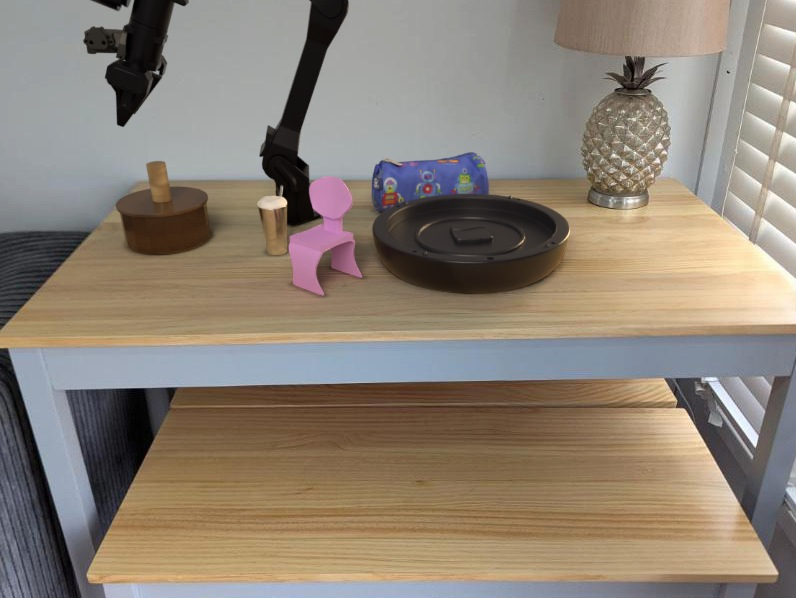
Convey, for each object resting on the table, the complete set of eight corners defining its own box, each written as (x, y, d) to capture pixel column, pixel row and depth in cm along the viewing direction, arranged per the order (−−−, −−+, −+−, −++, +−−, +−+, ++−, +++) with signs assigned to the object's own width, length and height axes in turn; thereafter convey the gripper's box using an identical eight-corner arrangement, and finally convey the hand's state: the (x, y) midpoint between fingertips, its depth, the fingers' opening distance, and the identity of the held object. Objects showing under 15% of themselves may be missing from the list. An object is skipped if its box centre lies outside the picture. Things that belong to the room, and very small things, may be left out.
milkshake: (299, 247, 126) (294, 187, 121) (281, 258, 122) (275, 197, 117) (276, 243, 128) (269, 183, 123) (257, 254, 124) (250, 193, 119)
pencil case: (375, 220, 137) (373, 166, 132) (366, 205, 144) (363, 153, 139) (493, 208, 141) (495, 156, 136) (478, 194, 149) (480, 144, 144)
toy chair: (285, 284, 114) (275, 183, 106) (328, 265, 119) (321, 169, 112) (325, 299, 109) (317, 195, 101) (367, 279, 115) (363, 179, 107)
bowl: (216, 224, 136) (210, 188, 133) (203, 253, 125) (197, 215, 121) (137, 227, 136) (130, 191, 133) (117, 256, 124) (109, 218, 121)
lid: (214, 191, 134) (208, 150, 130) (201, 219, 121) (194, 175, 118) (129, 194, 133) (120, 152, 130) (106, 223, 121) (96, 178, 117)
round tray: (363, 231, 132) (387, 307, 106) (362, 197, 129) (386, 266, 103) (533, 219, 136) (596, 289, 110) (535, 186, 133) (600, 250, 107)
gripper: (109, -4, 126) (89, 89, 133) (80, 8, 110) (59, 113, 117) (177, 24, 129) (154, 113, 136) (159, 40, 113) (134, 140, 120)
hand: (126, 119), depth 127 cm, fingers open, 9 cm apart
